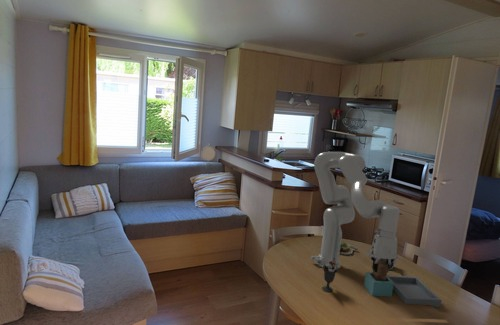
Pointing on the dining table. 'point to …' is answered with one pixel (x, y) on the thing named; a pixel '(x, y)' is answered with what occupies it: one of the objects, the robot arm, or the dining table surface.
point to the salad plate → (346, 248)
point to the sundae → (329, 275)
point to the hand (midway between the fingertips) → (380, 270)
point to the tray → (414, 291)
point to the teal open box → (378, 285)
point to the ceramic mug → (390, 264)
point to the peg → (380, 271)
